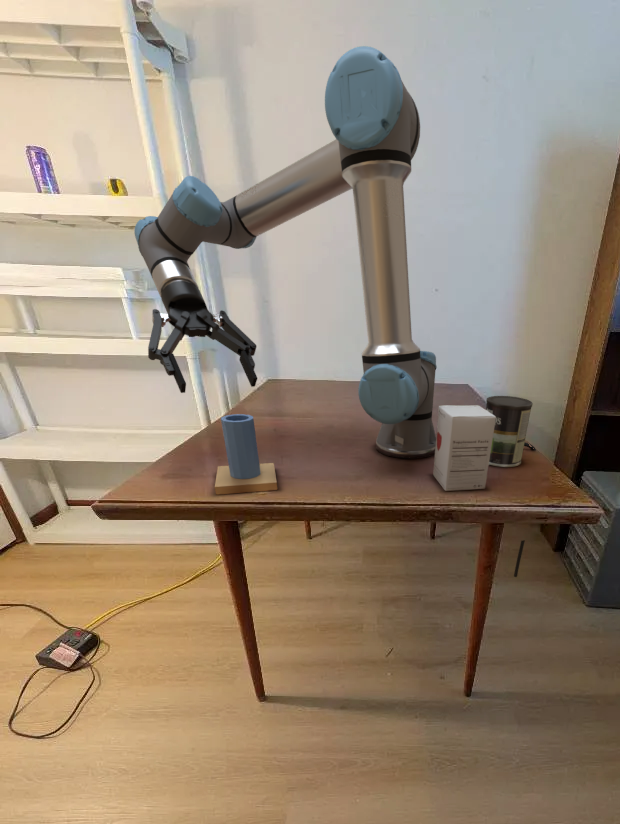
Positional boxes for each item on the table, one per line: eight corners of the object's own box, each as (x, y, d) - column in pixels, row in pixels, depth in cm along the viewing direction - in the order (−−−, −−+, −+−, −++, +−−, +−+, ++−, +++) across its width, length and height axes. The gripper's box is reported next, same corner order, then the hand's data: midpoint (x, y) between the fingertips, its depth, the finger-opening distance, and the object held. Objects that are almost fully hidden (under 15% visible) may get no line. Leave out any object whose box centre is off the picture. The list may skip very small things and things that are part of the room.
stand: (274, 469, 91) (268, 420, 86) (277, 489, 82) (271, 435, 77) (219, 473, 88) (209, 422, 83) (216, 494, 79) (205, 438, 74)
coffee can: (493, 469, 97) (502, 406, 90) (470, 455, 106) (478, 396, 99) (530, 465, 101) (542, 404, 94) (506, 451, 109) (515, 394, 102)
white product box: (431, 475, 93) (437, 404, 85) (470, 473, 94) (479, 404, 87) (444, 491, 85) (451, 415, 77) (486, 489, 87) (497, 415, 79)
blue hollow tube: (260, 467, 87) (253, 413, 82) (260, 477, 83) (253, 421, 77) (231, 469, 86) (221, 414, 80) (230, 480, 81) (220, 422, 76)
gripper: (238, 309, 95) (276, 391, 93) (109, 307, 81) (149, 403, 79) (244, 282, 89) (284, 368, 87) (106, 274, 75) (149, 377, 73)
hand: (220, 385), depth 83 cm, fingers open, 13 cm apart
